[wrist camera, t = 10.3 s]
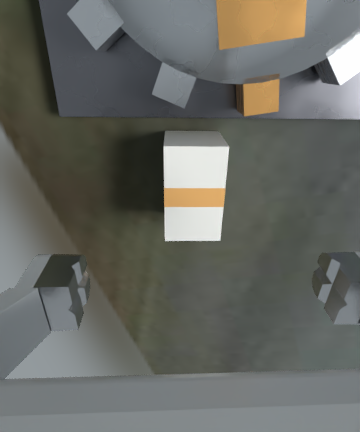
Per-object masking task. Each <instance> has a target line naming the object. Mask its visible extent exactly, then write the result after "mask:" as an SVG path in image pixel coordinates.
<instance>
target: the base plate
mask: <svg viewBox="0 0 360 432" xmlns="http://www.w3.org/2000/svg"><path fill="white" fill-rule="evenodd" d="M78 1H79V0H39V4H40V10H41V15H42V21H43V27H44V32H45V38H46V43H47V49H48V54H49V60H50V66H51V71H52V77H53V82H54V88H55V93H56V99H57V104H58V110H59V116H60V117H168V118H279V119H360V72H358V73H357V74H356V75H354V76H353V77H351V78H350V79H349V80H347V81H346V82H344V83H343V84H342V85H333V84H326V83H322V82H321V80H320V78H319V76H318V74H317V71H316V69H315V67H314V65H313V66H311V67H309V68H307V69H305V70H303V71H300V72H298V73H295V74H292V75H289V76H287V77H284V78H280V79H279V111H278V112H271V113H264V114H257V115H250V116H243V115H242V114H241V113H239V112H238V111H237V103H236V84H227V83H217V82H213V81H208V80H203V79H199V78H196V81H195V83H194V86H193V88H192V91H191V93H190V96H189V98H188V101H187V103H186V106H185V109H184V108H182V107H180V106H177V105H175V104H173V103H170V102H168V101H166V100H163V99H161V98H159V97H157V96H154V95H152V92H153V89H154V86H155V83H156V80H157V77H158V74H159V71H160V68H161V65H162V61H160V60H158V59H157V58H156V57H154V56H153V55H152V54H150V53H149V52H147V51H146V50H145V49H143V48H142V47H141V46H140V45H139V44H138V43H137V42H135V41H134V40H133V39H132V38H131V37H130V36H129V35H128V34H127V33H126V32H125V33H124V34H123V35H122V36H121V37H120V38H118V39H117V40H116V41H115V42H114V43H113V44H112V45H111V46H110V47H109V48H108V49H107V50H106V51H105V52H103V51H96V50H95V49H94V47H93V46H92V45H91V44H90V42H89V41H88V40H87V38H86V37H85V36H84V35H83V33H82V32H81V31H80V30H79V28H78V27H77V26H76V25H75V23H74V22H73V21H72V20H71V18H70V17H69V16H68V15H67V13H68V12H69V11H70V10H71V9H72V8H73V7H74V6H75V4H76V3H77V2H78Z"/></svg>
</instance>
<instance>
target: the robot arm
mask: <svg viewBox="0 0 360 432" xmlns="http://www.w3.org/2000/svg"><path fill="white" fill-rule="evenodd" d="M317 262H318V264H319V266H320V267H319V268H318V269H317V270H316V271H314V274H313V277H312V287H313V290H314V293H315V295H316V296H317V298H318V299H319V300H321V301H323V302H324V303H325V306H324V309H325V311H326V313H327V314H328V316H329V317H330V319H331V321H332V322H333V324H359V326H360V251H356V252H327V253H322V254H321V255H320V256H319V258H318V261H317ZM86 266H87V262H86V257H85V256H84V255H72V254H71V255H69V254H66V255H65V254H54V255H52V254H39V255H36V256H35V257H34V258H33V260H32V261H31V263H30V265H29V266H28V268H27V269H26V271H25V272H24V274H23V275H22V277H21V278H20V280H19V281H18V283H17V285H16V286H15V288H12V289H11V288H9V289H7V290H6V291H4V292H2V293H1V294H0V432H360V369H330V370H297V371H263V372H230V373H196V374H162V375H129V376H95V377H65V378H64V377H62V378H32V379H31V378H29V379H5V378H6V377H7V376H8V375H9V374H10V373H11V372H12V371H13V370H14V369H15V368H16V367H17V366H18V365H19V364H20V363H21V362H22V361H23V360H24V359H25V358H26V357H27V356H28V355H29V354H30V353H31V352H32V351H33V350H34V349H35V348H36V347H37V346H38V345H39V344H40V343H41V342H42V341H43V340H44V339H45V338H46V337H47V336H48V335H49V334H50V333H51V331H63V330H78V329H79V326H80V323H81V320H82V316H83V313H84V312H83V307H82V306H83V305H84V304H86V303H87V300H88V297H89V291H90V279H89V274H88V273H86V272H85V269H86Z"/></svg>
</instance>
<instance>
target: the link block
mask: <svg viewBox="0 0 360 432" xmlns="http://www.w3.org/2000/svg"><path fill="white" fill-rule="evenodd" d="M228 153H229V146H228V144H227V143H226V141H225V140H224V138H223V137H222V135H221V134H220V132H219V131H165V137H164V211H165V241H220V237H221V227H222V216H223V207H224V197H225V184H226V174H227V163H228Z"/></svg>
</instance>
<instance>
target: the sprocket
mask: <svg viewBox="0 0 360 432" xmlns="http://www.w3.org/2000/svg"><path fill="white" fill-rule="evenodd" d="M67 15H68V16H69V17H70V18H71V20H72V21H73V22H74V23H75V25H76V26H77V27H78V28H79V30H80V31H81V32H82V33H83V35H84V36H85V37H86V38H87V40H88V41H89V42H90V44H91V45H92V46H93V47H94V49H95V50H96V51H103V52H105V51H106V50H107V49H108V48H109V47H110V46H111V45H112V44H113V43H114V42H115V41H116V40H117V39H118V38H120V37H121V36H122V35H123V34H124V33H125V32H126V33H127V34H128V35H129V36H130V37H131V38H132V39H133V40H134V41H135V42H137V43H138V44H139V45H140V46H141V47H142V48H143V49H145V50H146V51H147V52H149V53H150V54H152V55H153V56H154V57H156V58H157V59H158V60H160V61H162V65H161V68H160V71H159V74H158V77H157V80H156V83H155V86H154V89H153V92H152V95H154V96H157V97H159V98H161V99H163V100H166V101H168V102H170V103H173V104H175V105H177V106H180V107H182V108H184V109H185V106H186V103H187V101H188V98H189V96H190V93H191V91H192V88H193V86H194V83H195V81H196V78H199V79H203V80H208V81H213V82H217V83H227V84H236V103H237V111H238V112H239V113H241V114H242V115H243V116H250V115H257V114H264V113H271V112H278V111H279V79H280V78H284V77H287V76H289V75H292V74H295V73H298V72H300V71H303V70H305V69H307V68H309V67H311V66H313V65H314V67H315V69H316V71H317V74H318V76H319V78H320V80H321V82H322V83H326V84H333V85H342V84H343V83H344V82H346V81H347V80H349V79H350V78H351V77H353V76H354V75H356V74H357V73H358V72H360V0H79V1H78V2H77V3H76V4H75V6H74V7H73V8H72V9H71V10H70V11H69V12H68V13H67Z"/></svg>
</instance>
